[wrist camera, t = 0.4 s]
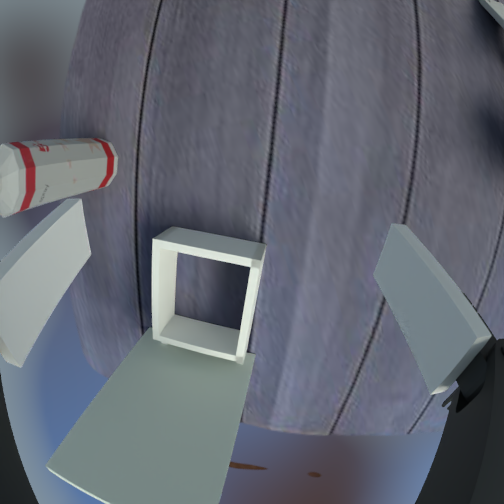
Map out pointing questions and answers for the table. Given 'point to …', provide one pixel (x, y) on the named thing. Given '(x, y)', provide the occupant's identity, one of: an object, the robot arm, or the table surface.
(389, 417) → the table surface
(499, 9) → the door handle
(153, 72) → the table surface
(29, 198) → the spray bottle
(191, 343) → the bottle bracket
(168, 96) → the table surface
